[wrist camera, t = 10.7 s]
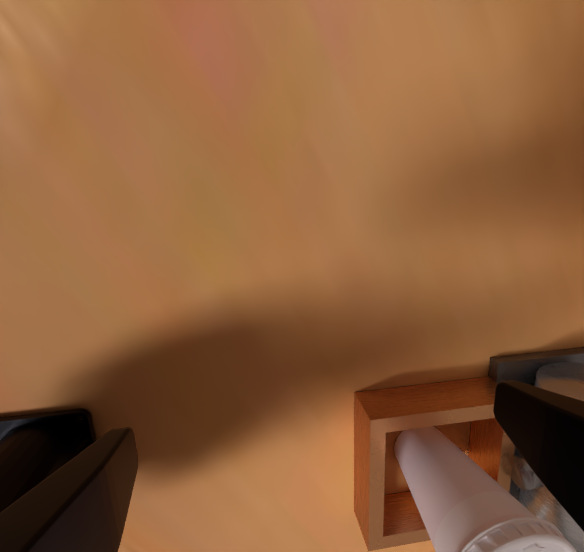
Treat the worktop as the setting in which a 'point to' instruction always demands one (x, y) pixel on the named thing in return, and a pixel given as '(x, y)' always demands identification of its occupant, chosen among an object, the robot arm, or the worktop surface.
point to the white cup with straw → (467, 501)
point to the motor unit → (482, 447)
